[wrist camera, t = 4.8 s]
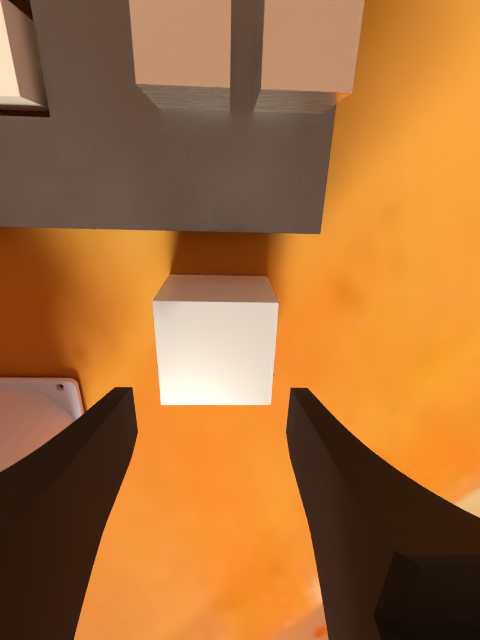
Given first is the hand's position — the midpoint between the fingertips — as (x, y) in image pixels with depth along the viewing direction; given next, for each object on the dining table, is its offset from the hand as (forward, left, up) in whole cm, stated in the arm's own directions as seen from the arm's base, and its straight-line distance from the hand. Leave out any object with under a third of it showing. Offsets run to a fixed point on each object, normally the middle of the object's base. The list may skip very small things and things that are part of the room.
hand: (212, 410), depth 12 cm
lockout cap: (0, 0, -8) cm, 8 cm away
